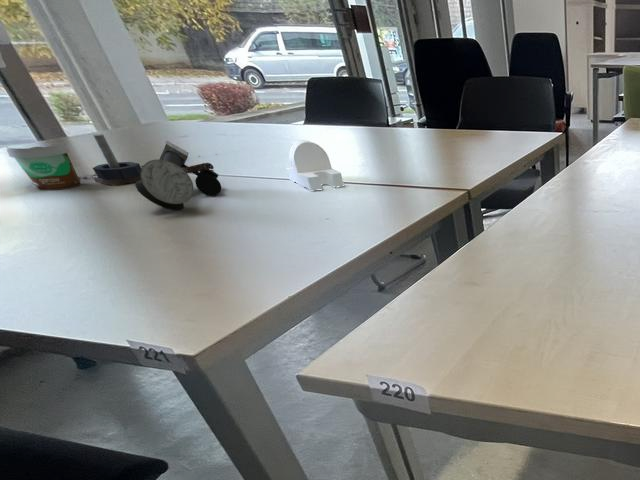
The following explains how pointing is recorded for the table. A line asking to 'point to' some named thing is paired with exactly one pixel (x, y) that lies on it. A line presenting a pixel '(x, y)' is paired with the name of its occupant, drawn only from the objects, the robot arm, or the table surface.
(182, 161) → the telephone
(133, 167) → the ring
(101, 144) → the peg stand
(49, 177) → the food container
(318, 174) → the white round-backed notched block
